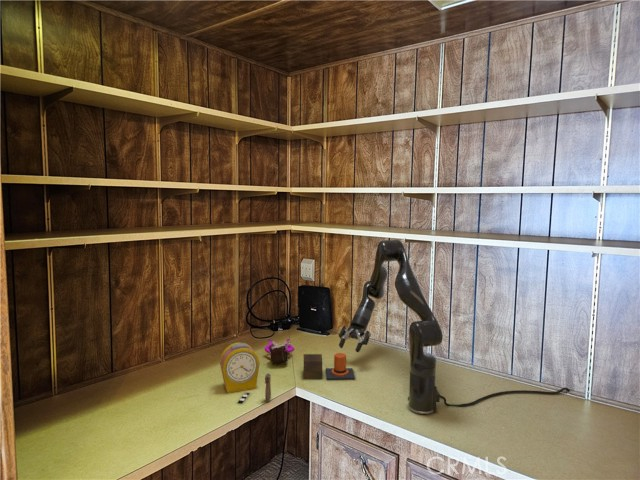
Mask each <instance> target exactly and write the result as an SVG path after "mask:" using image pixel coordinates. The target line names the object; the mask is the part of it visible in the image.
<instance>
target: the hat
mask: <svg viewBox="0 0 640 480" xmlns="http://www.w3.org/2000/svg"><path fill="white" fill-rule="evenodd" d="M333 368H334V369H332V370H331V373H332V374H333V375H335V376H346V375H348V373H349V371H348V370H347V369H346V368H347V354H345V353H343V352H337V353H334V355H333Z"/></svg>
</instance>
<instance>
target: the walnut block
mask: <svg viewBox="0 0 640 480" xmlns="http://www.w3.org/2000/svg"><path fill="white" fill-rule="evenodd" d="M303 380H323V354H321V353H303Z"/></svg>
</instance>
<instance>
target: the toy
mask: <svg viewBox="0 0 640 480" xmlns="http://www.w3.org/2000/svg"><path fill="white" fill-rule="evenodd" d="M263 349H264V351H265V352H266V353H267V354H268V355H269V357H270V363H271V364H272V366H280V365H284V364H286V363H287V362H288V361H289V360H288V359H289V354H290V353H292V352H294V351H295V350H296V349H295V347H294V346H292V344H291V343H290V338H286V341H285V342H284V343H283V344H279V343H277V342H275V341H274V340H272V338H270V339H268V344H267V345H266V346H265V347H263Z"/></svg>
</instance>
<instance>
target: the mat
mask: <svg viewBox="0 0 640 480" xmlns="http://www.w3.org/2000/svg"><path fill="white" fill-rule="evenodd" d="M332 369H334V367H333V368H332V367H326V368H325V375H326V380H327V381H355V380H356V377H355V372H354V368H352V367H351V368H350V367H349V368H348V367H346V369H347V370H348V371H349V373H348V375H346V376H335V375H333V374H332V373H331V370H332Z"/></svg>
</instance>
